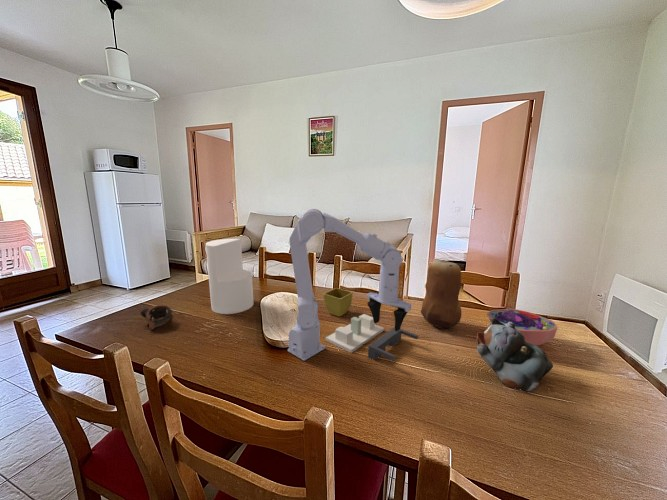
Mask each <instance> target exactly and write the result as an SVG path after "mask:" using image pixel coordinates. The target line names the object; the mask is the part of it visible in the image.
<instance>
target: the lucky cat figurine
mask: <svg viewBox="0 0 667 500" xmlns="http://www.w3.org/2000/svg"><path fill="white" fill-rule="evenodd" d="M476 336H477V337H476V343H477V349H476V351H477V353H478V354H479V355H480V357H481V359H482V360H483V361H484V362H486V364H487V365H488V366H489V367H490V369H492V370H493V372H495V374H496V375H497V376H498V377H499V379H500V381H501V383H502V384H504V386H506V385H507V386H509V387H508V388H510V387H512V388H511V389H513V388H516V389H515V390H517V389H521V390H524V391H523V392H525V391H527V392H530V391H533V390H534V389H536V388H538V386H539V384H540V381H541V379H542V378H543V377H544V376H546V375H547V374H548V373H549V372H550V371H551V370H552V369H553V368H554V365H553V362H552V361H550V359H549V357H548V356H547V354H546V352H545V351H544V350H543V349H542V348H541V347H539V345H538V346H536V345H534V344H530V343H527V342H526V341H525V338H524V336H523V335H522V333H521V332H520V331H518V330H517V329H515V326H514V324H513V323H512V322H508V323H507V324H505V325H504V324H502V323H501V322H500V321H498V320H497V319H492V322H490V324H489V326H488V327H487V329H486V330H484V331H483V332H482V331H478V332H477V333H476ZM507 386H506V387H507Z"/></svg>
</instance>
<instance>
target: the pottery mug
mask: <svg viewBox="0 0 667 500" xmlns="http://www.w3.org/2000/svg"><path fill="white" fill-rule="evenodd" d="M172 313H173V310H172V309H171V308H170V306H168V305H164V304H159V305H158V304H157V305H154V306H152V307H149V308H145V307H144V308H142V309H141V310H140V315H141V317H142V318H144V319H145V320H146V321H147V323H148V328H149V329H150V330H154V329H155V328H158V327H161V326H163V325H165V324H167V322H169V321H170V320H171V319H172V318H174V315H173V314H172Z"/></svg>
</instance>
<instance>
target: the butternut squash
mask: <svg viewBox="0 0 667 500" xmlns="http://www.w3.org/2000/svg"><path fill="white" fill-rule="evenodd" d="M461 286H462V270H461V267H460V266H459V264H457V263H454V262H452V261H451V262H450V261H447V260H440V259H438V260H437V259H436V260H434V261H432V262H431V263H430V264H429V266H428V268H427V277H426V282H425V285H424V288H425V291H426V293H425V296H424V299H423V300H422V303H421V310H420V314H421V315H422V317H423V318H424V320H425V321H426V322H427V323H428V324H430V325H432V326H434V327H438V328H439V329H444V328H447V329H449V328H453V327H454V326H456V325H458V324H459V323H460V321H461V320H462V307H461V304H460V300H459V296H460V295H459V294H460V291H461Z"/></svg>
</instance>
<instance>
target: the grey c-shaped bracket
mask: <svg viewBox="0 0 667 500" xmlns="http://www.w3.org/2000/svg"><path fill="white" fill-rule="evenodd" d="M402 335H403V336H407V337H409V338H412V339H415V340H418V339H419V335H418V334H416V333H413V332H411V331H408V330H405V329H403V328H400V330H398V331H395V326H394V327H393V328H392V329H389V331H386V333H383V335H381V336H380V337H379V338H377V339H376V340H374V341H372V342H371V344H368V346H367V347H368V348H367V349H368V350H367V358H368V357H369V358H368V359H370V358H371V360H372V359H373V360H372V361H374V360H375V361H377V360H378V359H379V358H380V357H382V356H383V357H385V358H388V359H390V360H391V361H394V360H395V359H396V355H395V354H393V353H391V352H389V351H386V350H387V348H386V347H387V346H388V345H389V346H388V347H390V346H393V347H394V346H396V345H397V344H398V343H399V342H400V341H402ZM397 342H398V343H397ZM396 343H397V344H396ZM381 355H382V356H381ZM378 357H379V358H378ZM377 358H378V359H377ZM376 359H377V360H376Z"/></svg>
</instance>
